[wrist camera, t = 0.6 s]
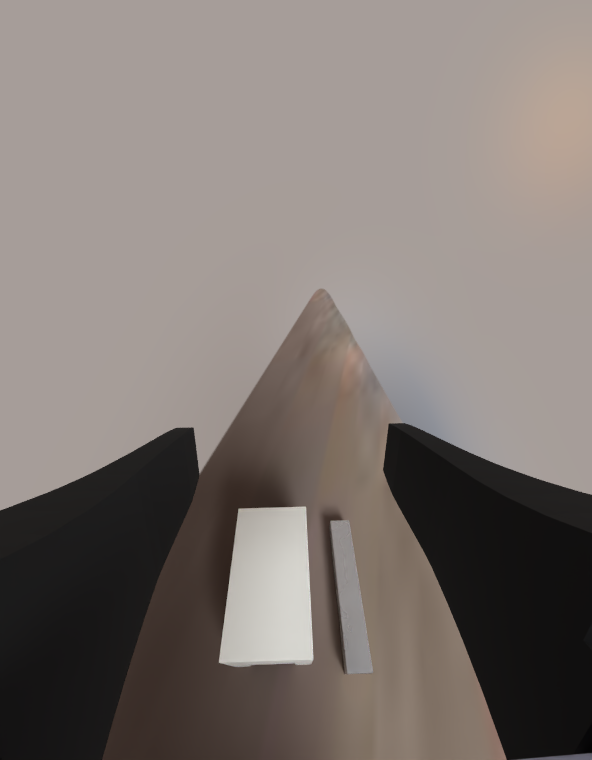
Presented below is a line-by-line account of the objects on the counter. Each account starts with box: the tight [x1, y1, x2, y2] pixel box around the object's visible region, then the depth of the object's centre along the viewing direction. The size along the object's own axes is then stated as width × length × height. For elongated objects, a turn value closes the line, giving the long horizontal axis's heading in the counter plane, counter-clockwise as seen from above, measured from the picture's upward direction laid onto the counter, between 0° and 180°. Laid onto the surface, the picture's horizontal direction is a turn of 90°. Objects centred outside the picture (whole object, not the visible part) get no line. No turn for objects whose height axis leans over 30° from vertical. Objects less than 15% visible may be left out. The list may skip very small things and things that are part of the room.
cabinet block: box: [219, 507, 313, 667], centre depth 19 cm, size 8×5×6 cm, turn 1°
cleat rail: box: [329, 520, 373, 674], centre depth 21 cm, size 9×2×2 cm, turn 1°
